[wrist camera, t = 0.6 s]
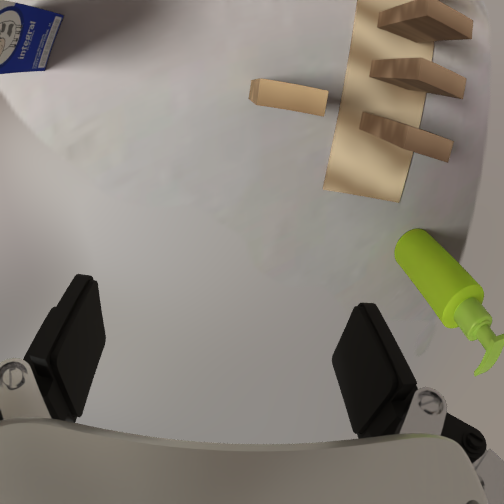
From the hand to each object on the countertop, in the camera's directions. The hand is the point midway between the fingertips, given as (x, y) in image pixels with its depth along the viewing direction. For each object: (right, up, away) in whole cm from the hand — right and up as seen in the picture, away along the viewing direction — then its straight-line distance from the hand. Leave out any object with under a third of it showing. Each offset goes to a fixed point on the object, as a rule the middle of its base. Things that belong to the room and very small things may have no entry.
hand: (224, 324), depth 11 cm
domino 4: (+15, +16, +20) cm, 30 cm away
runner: (+16, +22, +18) cm, 32 cm away
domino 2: (+17, +27, +15) cm, 35 cm away
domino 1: (+3, +18, +19) cm, 26 cm away
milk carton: (-24, +26, +12) cm, 37 cm away
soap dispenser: (+23, +3, +29) cm, 37 cm away
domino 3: (+16, +21, +17) cm, 32 cm away
